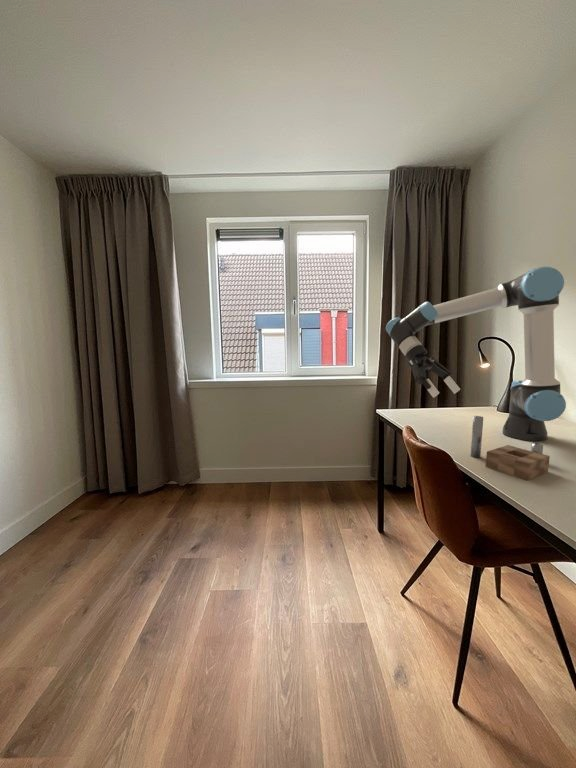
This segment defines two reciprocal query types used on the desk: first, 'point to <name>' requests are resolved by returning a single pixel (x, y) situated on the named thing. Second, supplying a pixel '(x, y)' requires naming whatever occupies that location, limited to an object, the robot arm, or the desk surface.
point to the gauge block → (517, 462)
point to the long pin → (476, 436)
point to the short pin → (537, 448)
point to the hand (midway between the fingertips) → (447, 393)
